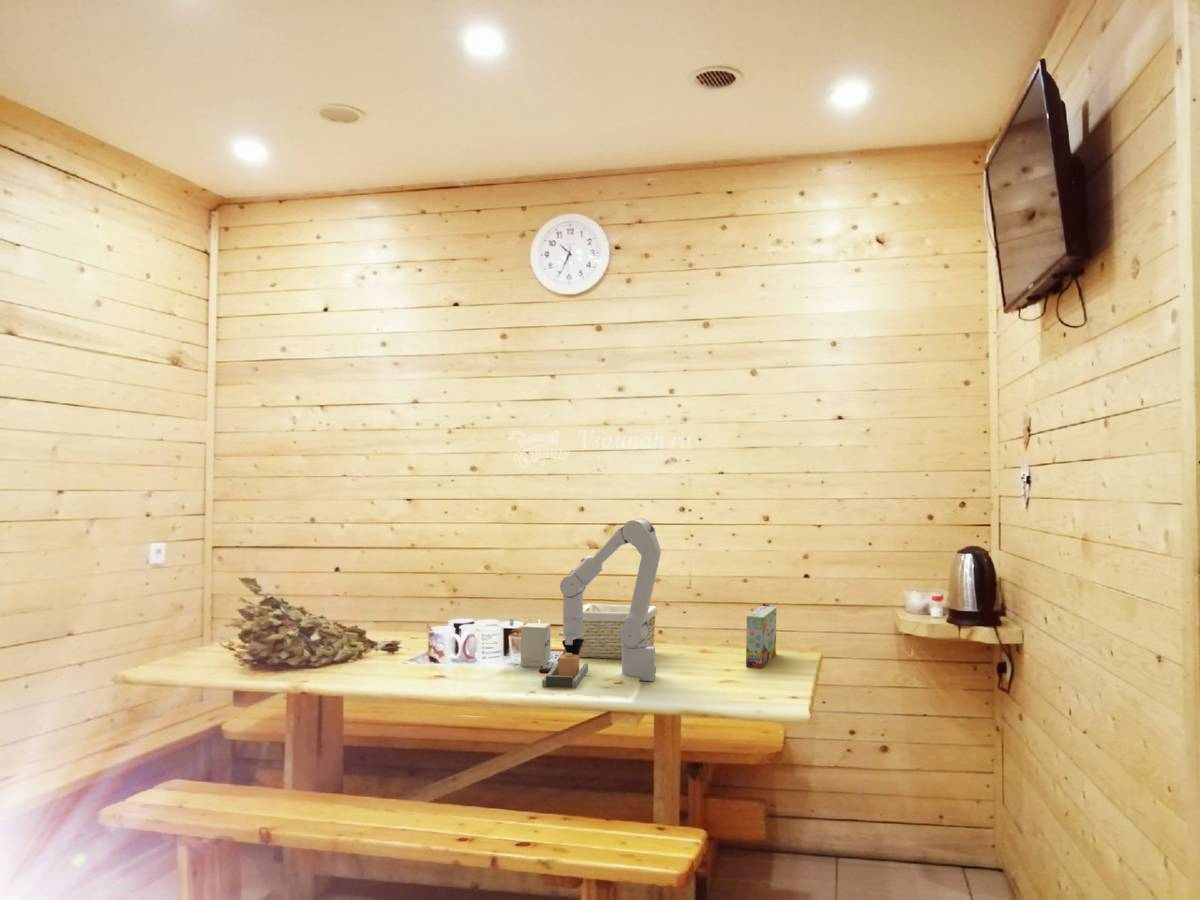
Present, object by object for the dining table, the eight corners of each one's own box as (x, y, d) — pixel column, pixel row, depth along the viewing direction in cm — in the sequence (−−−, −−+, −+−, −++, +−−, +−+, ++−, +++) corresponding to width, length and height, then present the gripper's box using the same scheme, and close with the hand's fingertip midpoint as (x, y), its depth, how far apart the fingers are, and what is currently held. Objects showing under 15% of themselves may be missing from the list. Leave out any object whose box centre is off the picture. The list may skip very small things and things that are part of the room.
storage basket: (571, 658, 264) (571, 610, 264) (586, 647, 280) (586, 602, 280) (647, 662, 258) (646, 613, 258) (658, 651, 273) (658, 605, 273)
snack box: (764, 669, 248) (763, 617, 249) (745, 667, 250) (744, 615, 251) (777, 654, 268) (777, 606, 268) (759, 653, 270) (759, 605, 270)
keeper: (579, 672, 239) (579, 651, 239) (576, 676, 234) (575, 655, 235) (561, 672, 240) (561, 651, 240) (558, 676, 235) (558, 655, 235)
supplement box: (544, 671, 246) (544, 627, 247) (520, 670, 248) (519, 626, 248) (551, 665, 254) (551, 623, 254) (527, 664, 255) (527, 622, 255)
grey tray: (593, 674, 242) (593, 660, 242) (581, 693, 222) (581, 677, 223) (551, 673, 244) (551, 659, 244) (536, 691, 224) (536, 676, 224)
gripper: (564, 613, 252) (564, 659, 252) (554, 621, 238) (554, 670, 238) (587, 613, 251) (587, 659, 251) (579, 622, 237) (579, 671, 237)
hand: (573, 665), depth 244 cm, fingers closed
